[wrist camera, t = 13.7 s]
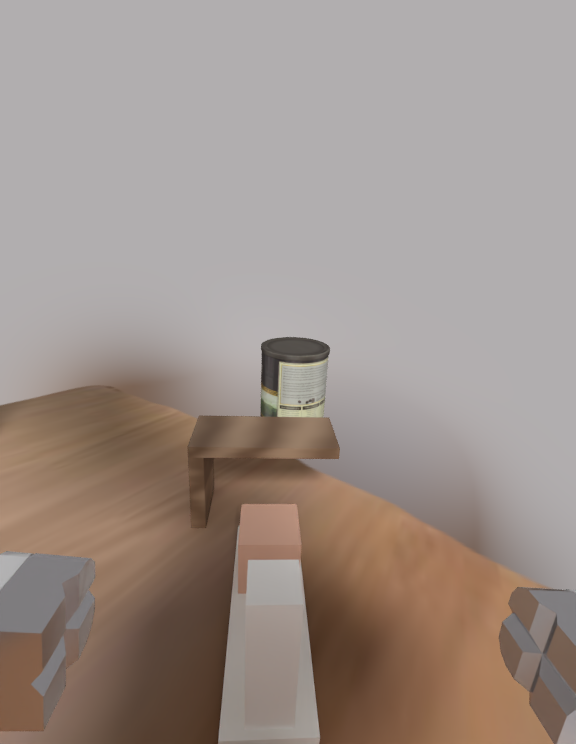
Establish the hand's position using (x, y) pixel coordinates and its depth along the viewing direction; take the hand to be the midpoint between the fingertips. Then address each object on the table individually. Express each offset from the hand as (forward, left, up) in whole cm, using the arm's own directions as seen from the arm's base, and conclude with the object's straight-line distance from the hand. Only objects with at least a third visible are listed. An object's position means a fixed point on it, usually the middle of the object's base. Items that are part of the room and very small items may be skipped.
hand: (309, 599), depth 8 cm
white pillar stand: (0, +18, -23) cm, 29 cm away
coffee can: (+4, +51, -23) cm, 56 cm away
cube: (0, +22, -22) cm, 30 cm away
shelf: (0, +32, -23) cm, 39 cm away
